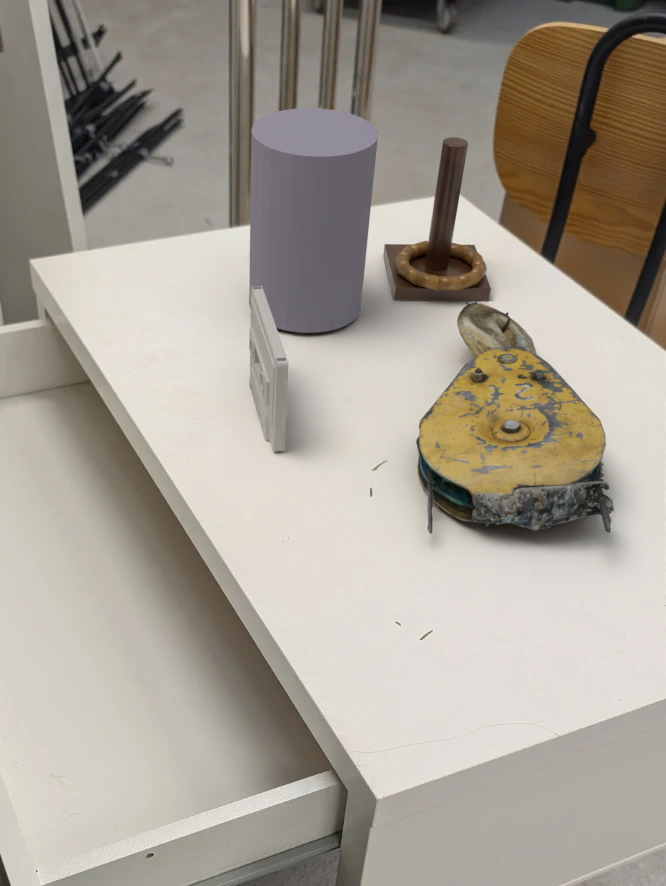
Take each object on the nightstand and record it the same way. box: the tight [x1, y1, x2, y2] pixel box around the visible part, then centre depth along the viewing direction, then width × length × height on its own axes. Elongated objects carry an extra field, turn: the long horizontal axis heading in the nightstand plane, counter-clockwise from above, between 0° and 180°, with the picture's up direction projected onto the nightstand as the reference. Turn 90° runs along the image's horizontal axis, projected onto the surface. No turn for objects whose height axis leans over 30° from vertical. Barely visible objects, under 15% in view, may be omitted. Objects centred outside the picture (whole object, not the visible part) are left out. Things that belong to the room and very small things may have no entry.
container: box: [248, 107, 379, 334], centre depth 89 cm, size 10×10×15 cm
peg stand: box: [382, 136, 492, 301], centre depth 94 cm, size 9×9×12 cm
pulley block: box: [415, 300, 615, 535], centre depth 80 cm, size 14×6×30 cm
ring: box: [396, 240, 488, 290], centre depth 97 cm, size 8×8×1 cm
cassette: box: [248, 286, 289, 453], centre depth 80 cm, size 12×2×8 cm, turn 9°
